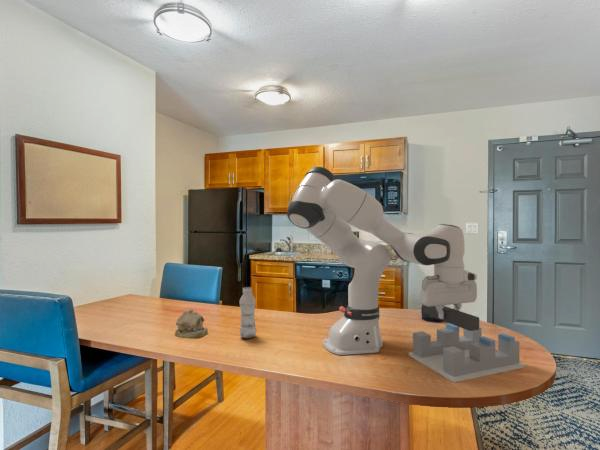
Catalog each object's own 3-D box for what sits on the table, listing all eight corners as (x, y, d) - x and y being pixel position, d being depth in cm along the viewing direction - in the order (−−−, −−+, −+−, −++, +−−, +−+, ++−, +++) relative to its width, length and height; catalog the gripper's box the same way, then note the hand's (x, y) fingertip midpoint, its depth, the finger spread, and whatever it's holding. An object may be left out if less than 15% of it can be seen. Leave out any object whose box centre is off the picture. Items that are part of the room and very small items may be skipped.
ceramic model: (168, 336, 134) (168, 311, 134) (187, 327, 144) (186, 305, 144) (196, 340, 129) (196, 315, 129) (213, 331, 139) (213, 307, 139)
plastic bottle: (259, 335, 132) (258, 286, 132) (250, 341, 126) (249, 290, 126) (246, 333, 135) (245, 285, 135) (236, 339, 129) (235, 288, 129)
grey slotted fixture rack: (453, 382, 92) (453, 349, 92) (408, 355, 111) (408, 327, 111) (524, 367, 101) (524, 337, 101) (472, 344, 120) (472, 319, 120)
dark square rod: (469, 331, 94) (469, 318, 94) (422, 312, 113) (422, 302, 113) (479, 329, 96) (479, 317, 96) (430, 311, 115) (430, 301, 114)
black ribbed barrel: (421, 321, 148) (420, 288, 148) (421, 315, 158) (421, 284, 157) (444, 323, 145) (444, 290, 145) (443, 317, 154) (443, 286, 154)
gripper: (429, 278, 98) (429, 323, 98) (480, 274, 105) (480, 317, 105) (415, 274, 104) (415, 317, 104) (465, 271, 111) (464, 312, 111)
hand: (448, 317), depth 105 cm, fingers closed on dark square rod, 4 cm apart
